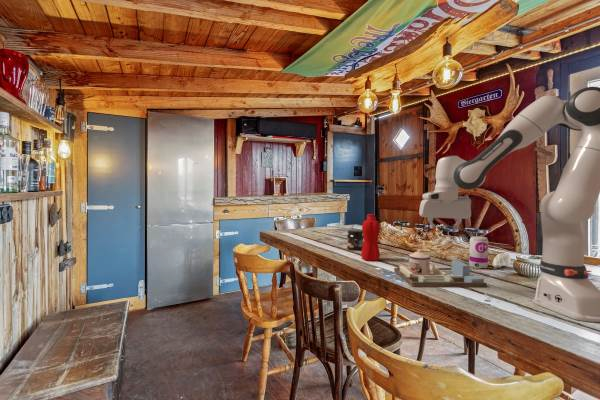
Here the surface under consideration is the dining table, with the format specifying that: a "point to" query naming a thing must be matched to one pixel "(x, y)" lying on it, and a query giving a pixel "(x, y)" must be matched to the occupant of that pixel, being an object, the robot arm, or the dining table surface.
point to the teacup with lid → (420, 263)
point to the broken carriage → (450, 279)
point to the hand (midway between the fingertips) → (443, 228)
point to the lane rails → (457, 283)
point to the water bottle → (370, 239)
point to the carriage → (457, 269)
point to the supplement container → (355, 239)
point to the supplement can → (478, 252)
